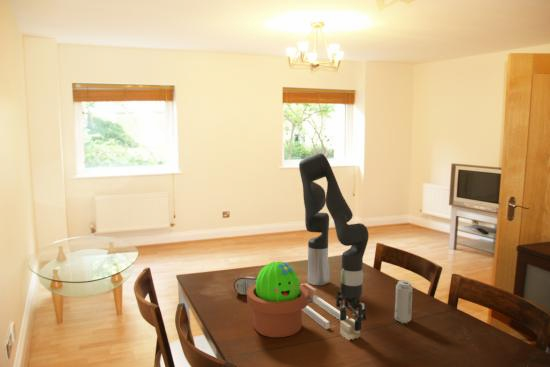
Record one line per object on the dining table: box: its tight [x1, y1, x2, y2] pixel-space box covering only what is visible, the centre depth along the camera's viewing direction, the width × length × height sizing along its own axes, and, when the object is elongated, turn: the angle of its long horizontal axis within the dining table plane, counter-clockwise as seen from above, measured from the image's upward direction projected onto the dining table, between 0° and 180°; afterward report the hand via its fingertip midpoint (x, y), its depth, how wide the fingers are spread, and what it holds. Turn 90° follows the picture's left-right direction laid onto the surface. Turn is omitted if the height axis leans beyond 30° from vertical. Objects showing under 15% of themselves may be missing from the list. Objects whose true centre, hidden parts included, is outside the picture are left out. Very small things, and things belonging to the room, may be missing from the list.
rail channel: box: [300, 282, 350, 330], centre depth 172 cm, size 10×31×5 cm, turn 26°
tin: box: [233, 274, 258, 296], centre depth 187 cm, size 15×3×8 cm, turn 84°
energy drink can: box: [394, 279, 414, 324], centre depth 162 cm, size 6×6×15 cm
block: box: [339, 317, 361, 341], centre depth 151 cm, size 5×5×5 cm
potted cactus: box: [246, 260, 309, 338], centre depth 157 cm, size 22×22×25 cm
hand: (350, 325), depth 151 cm, fingers open, 8 cm apart
